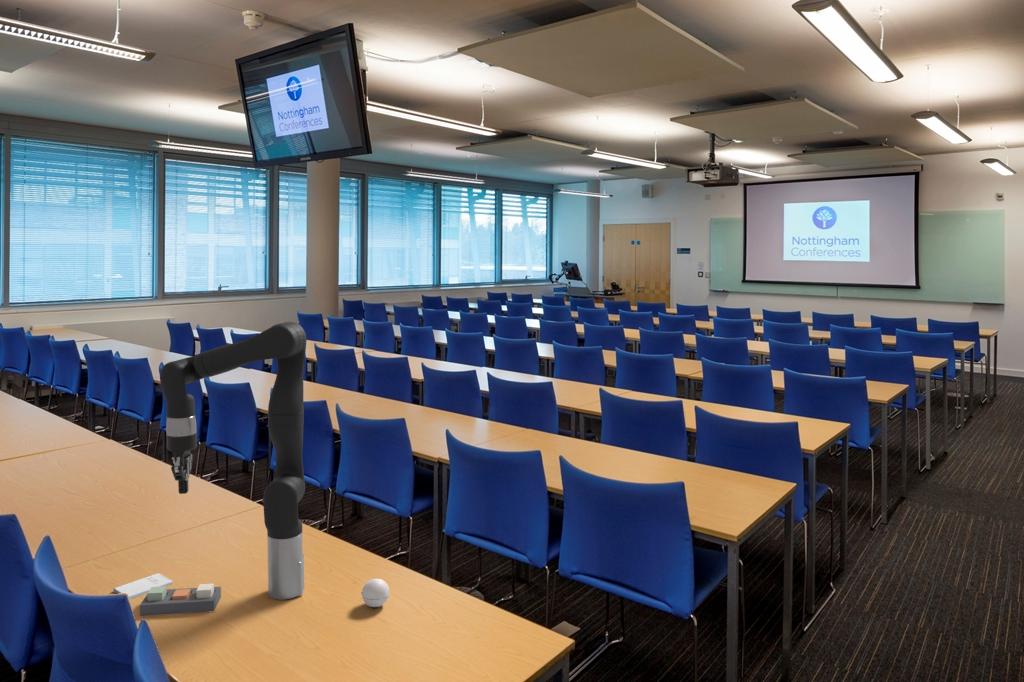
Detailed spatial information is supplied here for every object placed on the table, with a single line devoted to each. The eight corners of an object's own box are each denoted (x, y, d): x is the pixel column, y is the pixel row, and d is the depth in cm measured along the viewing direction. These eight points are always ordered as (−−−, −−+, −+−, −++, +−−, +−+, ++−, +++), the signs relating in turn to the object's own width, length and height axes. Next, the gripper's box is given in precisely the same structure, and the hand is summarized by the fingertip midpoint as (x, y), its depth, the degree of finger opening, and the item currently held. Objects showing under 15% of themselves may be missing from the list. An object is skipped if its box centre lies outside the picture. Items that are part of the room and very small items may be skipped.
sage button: (166, 598, 188) (166, 586, 187) (162, 604, 184) (162, 592, 184) (152, 599, 187) (151, 587, 187) (147, 605, 184) (147, 593, 183)
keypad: (221, 596, 192) (220, 586, 192) (214, 611, 185) (213, 600, 184) (150, 601, 189) (149, 590, 189) (140, 616, 181) (139, 605, 181)
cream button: (214, 595, 190) (213, 583, 189) (211, 601, 186) (210, 589, 186) (200, 596, 189) (199, 584, 189) (196, 602, 186) (196, 590, 185)
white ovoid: (379, 596, 195) (379, 571, 194) (394, 606, 190) (394, 580, 189) (347, 608, 188) (347, 582, 187) (362, 618, 183) (362, 592, 182)
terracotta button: (190, 601, 189) (190, 589, 189) (187, 607, 185) (186, 595, 185) (176, 601, 188) (176, 589, 188) (172, 608, 185) (172, 596, 184)
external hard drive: (113, 593, 194) (158, 577, 204) (127, 602, 189) (172, 585, 199) (113, 587, 194) (158, 572, 204) (127, 596, 189) (172, 580, 199)
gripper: (189, 437, 188) (191, 500, 190) (202, 425, 201) (204, 484, 203) (159, 438, 186) (161, 501, 188) (174, 426, 199) (176, 485, 201)
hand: (183, 492), depth 196 cm, fingers closed
